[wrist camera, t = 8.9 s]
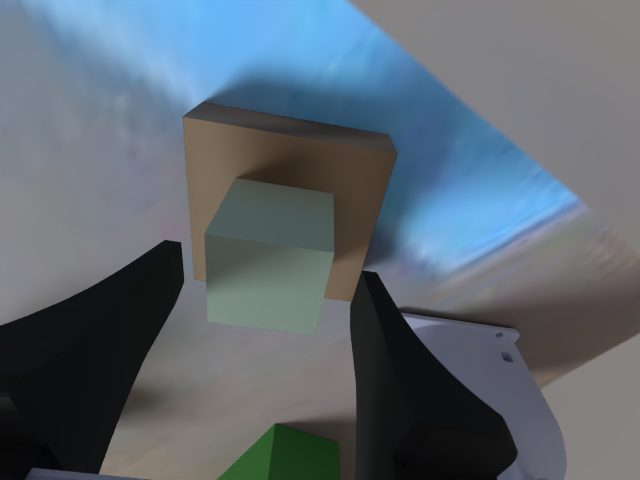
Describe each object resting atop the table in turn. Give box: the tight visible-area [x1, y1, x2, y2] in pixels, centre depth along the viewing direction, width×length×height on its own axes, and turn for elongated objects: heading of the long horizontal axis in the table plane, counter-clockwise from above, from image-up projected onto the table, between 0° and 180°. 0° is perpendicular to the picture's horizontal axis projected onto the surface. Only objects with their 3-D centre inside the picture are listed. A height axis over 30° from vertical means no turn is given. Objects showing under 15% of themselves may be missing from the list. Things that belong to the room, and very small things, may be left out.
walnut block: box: [183, 102, 397, 302], centre depth 18 cm, size 9×9×3 cm
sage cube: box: [204, 178, 334, 335], centre depth 15 cm, size 4×4×4 cm
